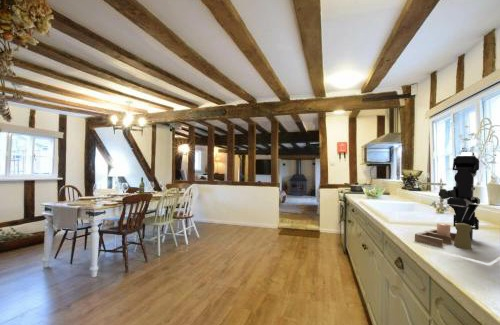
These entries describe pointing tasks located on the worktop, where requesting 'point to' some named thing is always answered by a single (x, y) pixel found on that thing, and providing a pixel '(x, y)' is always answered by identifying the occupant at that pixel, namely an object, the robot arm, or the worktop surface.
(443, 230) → the block
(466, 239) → the cork
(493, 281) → the worktop surface
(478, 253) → the worktop surface
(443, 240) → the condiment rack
